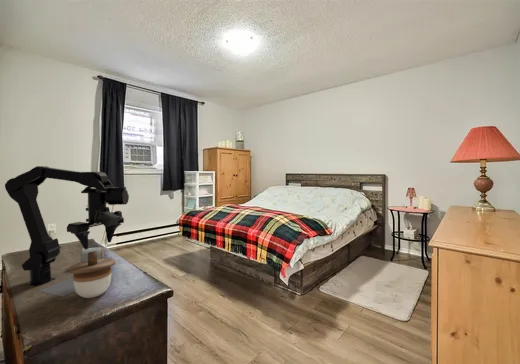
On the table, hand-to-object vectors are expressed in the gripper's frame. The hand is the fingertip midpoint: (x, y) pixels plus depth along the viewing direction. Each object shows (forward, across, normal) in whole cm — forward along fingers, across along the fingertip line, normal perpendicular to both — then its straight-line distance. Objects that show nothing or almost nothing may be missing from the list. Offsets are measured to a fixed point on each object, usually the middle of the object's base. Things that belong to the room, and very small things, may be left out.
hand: (98, 245), depth 92 cm
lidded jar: (+13, -9, -9) cm, 18 cm away
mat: (+13, -8, +4) cm, 16 cm away
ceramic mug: (+13, +10, +18) cm, 25 cm away
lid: (+4, -9, -9) cm, 13 cm away
